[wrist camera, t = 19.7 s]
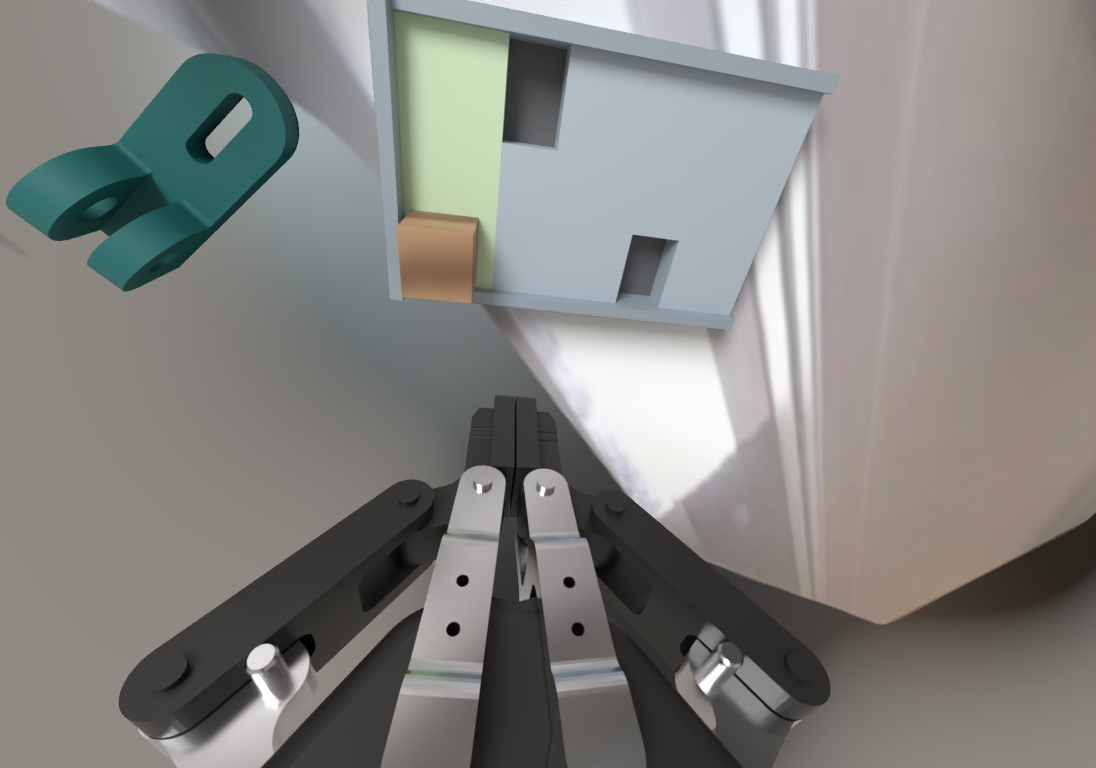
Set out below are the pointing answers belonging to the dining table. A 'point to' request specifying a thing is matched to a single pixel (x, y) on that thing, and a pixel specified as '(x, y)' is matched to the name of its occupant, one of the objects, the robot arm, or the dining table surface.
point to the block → (438, 256)
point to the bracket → (164, 172)
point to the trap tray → (584, 156)
